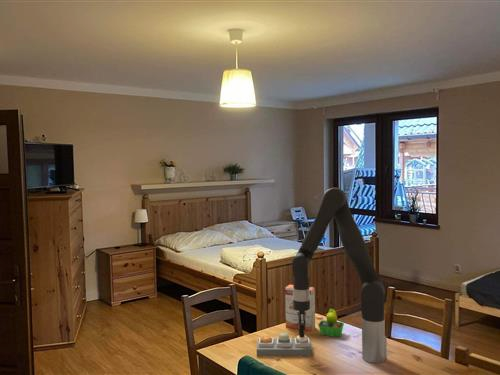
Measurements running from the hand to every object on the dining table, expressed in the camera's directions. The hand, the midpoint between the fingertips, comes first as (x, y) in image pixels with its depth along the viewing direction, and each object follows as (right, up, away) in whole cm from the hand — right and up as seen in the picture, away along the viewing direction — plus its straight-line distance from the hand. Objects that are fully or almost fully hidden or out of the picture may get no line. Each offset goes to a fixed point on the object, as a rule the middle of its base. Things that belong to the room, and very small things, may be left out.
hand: (301, 336), depth 196 cm
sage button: (-8, -1, 0) cm, 8 cm away
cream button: (0, -2, 0) cm, 2 cm away
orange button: (-16, -3, +1) cm, 16 cm away
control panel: (-8, -6, +1) cm, 10 cm away
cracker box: (+3, -5, +28) cm, 28 cm away
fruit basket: (+17, -5, +19) cm, 26 cm away
